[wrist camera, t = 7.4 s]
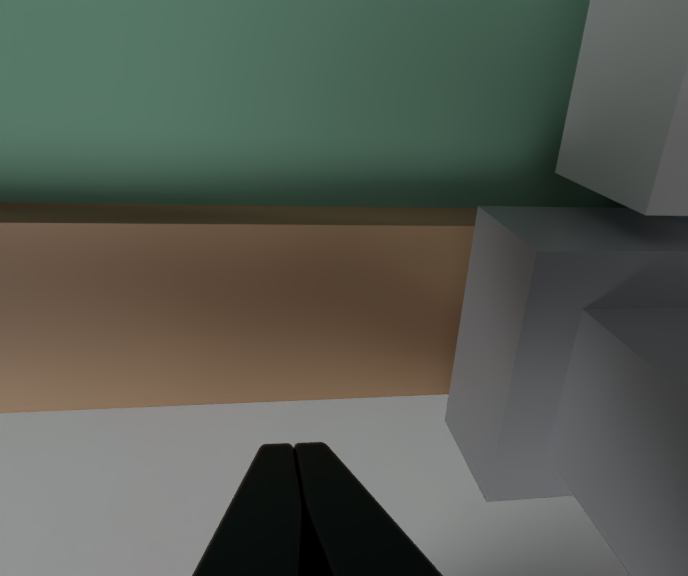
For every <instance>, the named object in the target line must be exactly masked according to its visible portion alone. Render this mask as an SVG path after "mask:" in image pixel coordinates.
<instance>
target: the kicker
mask: <svg viewBox="0 0 688 576" xmlns="http://www.w3.org/2000/svg"><path fill="white" fill-rule="evenodd" d="M555 173H557V174H559V175H561V176H563V177H565V178H567V179H569V180H571V181H574V182H576V183H578V184H580V185H582V186H584V187H586V188H588V189H591V190H593V191H595V192H597V193H599V194H601V195H603V196H605V197H608V198H610V199H612V200H614V201H616V202H618V203H620V204H622V205H625V206H627V207H629V208H597V207H521V206H478V209H477V215H476V222H475V228H474V235H473V241H472V248H471V254H470V261H469V267H468V274H467V280H466V287H465V293H464V300H463V306H462V313H461V319H460V326H459V332H458V339H457V345H456V351H455V358H454V364H453V371H452V377H451V384H450V390H449V397H448V403H447V410H446V416H445V422H446V424H447V426H448V427H449V429H450V431H451V433H452V435H453V437H454V439H455V441H456V443H457V445H458V447H459V449H460V451H461V453H462V455H463V457H464V459H465V461H466V463H467V465H468V467H469V469H470V471H471V473H472V475H473V477H474V479H475V481H476V483H477V485H478V487H479V488H480V490H481V492H482V494H483V496H484V498H485V500H486V502H491V501H504V500H517V499H531V498H544V497H557V496H571V495H574V496H575V498H576V499H577V501H578V502H579V503H580V505H581V506H582V508H583V509H584V511H585V512H586V513H587V515H588V516H589V518H590V519H591V521H592V522H593V523H594V525H595V526H596V528H597V529H598V531H599V532H600V533H601V535H602V536H603V538H604V539H605V541H606V542H607V543H608V545H609V546H610V548H611V549H612V550H613V552H614V553H615V555H616V556H617V558H618V559H619V560H620V562H621V563H622V565H623V566H624V568H625V569H626V570H627V572H628V573H629V575H630V576H688V222H686V221H684V220H681V219H679V218H677V217H674V216H688V0H590V4H589V8H588V13H587V18H586V23H585V28H584V33H583V38H582V43H581V48H580V53H579V57H578V62H577V67H576V72H575V77H574V82H573V87H572V92H571V97H570V102H569V106H568V111H567V116H566V121H565V126H564V131H563V136H562V141H561V146H560V151H559V155H558V160H557V165H556V170H555Z"/></svg>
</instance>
